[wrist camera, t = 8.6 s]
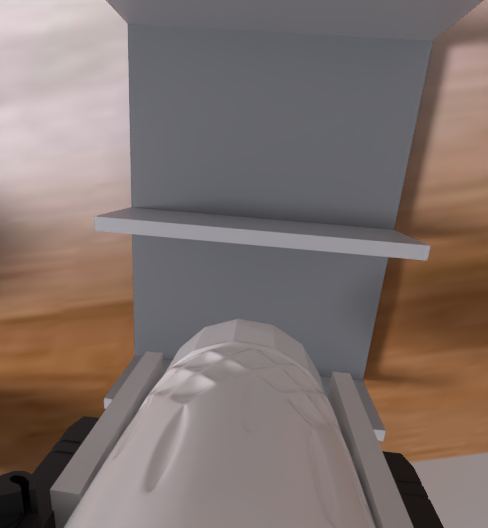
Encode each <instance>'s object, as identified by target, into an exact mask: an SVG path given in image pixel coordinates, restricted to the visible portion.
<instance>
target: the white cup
mask: <svg viewBox="0 0 488 528" xmlns="http://www.w3.org/2000/svg"><path fill="white" fill-rule="evenodd" d="M63 528H376V526H375V523H374V520H373V517H372V515H371V512H370V509H369V506H368V503H367V500H366V497H365V494H364V491H363V489H362V486H361V483H360V480H359V477H358V474H357V471H356V469H355V466H354V463H353V460H352V458H351V455H350V452H349V450H348V448H347V445H346V443H345V440H344V438H343V436H342V432H341V429H340V426H339V424H338V421H337V418H336V416H335V413H334V411H333V408H332V406H331V404H330V402H329V400H328V398H327V396H326V394H325V391H324V387H323V384H322V381H321V378H320V375H319V372H318V371H317V369H316V367H315V365H314V364H313V362H312V360H311V358H310V357H309V355H308V353H307V351H306V350H305V348H304V346H303V345H302V344H301V343H300V342H298V341H297V340H295V339H294V338H292V337H291V336H289V335H288V334H286V333H285V332H283V331H282V330H280V329H279V328H277V327H276V326H274V325H272V324H266V323H260V322H255V321H249V320H243V319H235V320H231V321H227V322H223V323H219V324H215V325H211V326H207V327H204V328H203V329H202V330H201V331H199V332H198V333H197V334H196V335H195V336H193V337H192V338H191V339H190V340H189V341H187V342H186V343H185V344H184V345H183V346H182V347H180V349H179V350H178V352H177V354H176V355H175V357H174V359H173V360H172V362H171V364H170V365H169V367H168V369H167V371H166V372H165V374H164V375H163V377H162V378H161V379H160V380H159V381H158V383H157V384H156V385H155V386H154V388H153V389H152V390H151V392H150V393H149V394H148V396H147V397H146V399H145V401H144V402H143V404H142V405H141V407H140V409H139V410H138V412H137V414H136V415H135V417H134V418H133V419H132V421H131V422H130V424H129V425H128V426H127V428H126V429H125V431H124V432H123V434H122V435H121V437H120V438H119V440H118V441H117V443H116V444H115V446H114V447H113V449H112V451H111V452H110V454H109V455H108V457H107V458H106V460H105V462H104V463H103V465H102V466H101V468H100V470H99V471H98V473H97V475H96V476H95V478H94V479H93V481H92V482H91V484H90V486H89V487H88V489H87V490H86V492H85V494H84V495H83V497H82V498H81V500H80V502H79V503H78V505H77V506H76V508H75V510H74V511H73V513H72V514H71V516H70V518H69V519H68V521H67V522H66V524H65V526H64V527H63Z"/></svg>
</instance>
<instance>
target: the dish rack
mask: <svg viewBox="0 0 488 528" xmlns="http://www.w3.org/2000/svg"><path fill="white" fill-rule="evenodd" d="M106 1H107V2H108V3H109V4H110V5H111V6H112V7H113V8H114V9H115V10H116V12H117V13H118V14H119V15H120V16H121V17H122V18H123V19H124V20H125V21H126V22H127V23H128V59H129V107H130V155H131V203H132V207H131V208H127V209H123V210H119V211H114V212H110V213H106V214H102V215H98V216H94V223H95V231H103V232H114V233H125V234H132V250H133V298H134V346H135V356H134V358H133V359H132V361H131V362H130V363H129V365H128V366H127V367H126V369H125V370H124V371H123V373H122V374H121V376H120V377H119V378H118V380H117V381H116V382H115V384H114V385H113V386H112V388H111V389H110V391H109V392H108V393H107V395H106V396H105V397H104V409H106V408H107V407H108V406H109V404H110V403H111V401H112V400H113V398H114V397H115V395H116V394H117V393H118V391H119V390H120V388H121V387H122V385H123V384H124V383H125V381H126V380H127V378H128V377H129V375H130V374H131V372H132V371H133V370H134V368H135V367H136V365H137V364H138V362H139V361H140V360H141V358H142V357H143V355H144V354H145V352H146V351H149V352H158V353H163V375H164V374H165V372H166V371H167V369H168V367H169V365H170V364H171V362H172V360H173V359H174V357H175V355H176V354H177V352H178V350H179V349H180V347H182V346H183V345H184V344H185V343H186V342H187V341H189V340H190V339H191V338H192V337H193V336H195V335H196V334H197V333H198V332H199V331H201V330H202V329H203V328H204V327H207V326H211V325H215V324H219V323H223V322H227V321H231V320H235V319H243V320H249V321H255V322H260V323H266V324H272V325H274V326H276V327H277V328H279V329H280V330H282V331H283V332H285V333H286V334H288V335H289V336H291V337H292V338H294V339H295V340H297V341H298V342H300V343H301V344H302V345H303V346H304V348H305V350H306V351H307V353H308V355H309V357H310V358H311V360H312V362H313V364H314V365H315V367H316V369H317V371H318V372H319V375H320V378H321V381H322V384H323V387H324V391H325V394H326V396H327V398H328V394H329V389H330V383H331V377H332V372H342V373H350V374H351V377H352V379H353V382H354V384H355V387H356V389H357V391H358V394H359V396H360V399H361V401H362V404H363V406H364V408H365V411H366V413H367V416H368V418H369V421H370V423H371V425H372V428H373V430H374V433H375V435H376V438H377V440H378V441H383V440H384V436H385V432H386V430H385V428H384V426H383V424H382V421H381V419H380V417H379V415H378V413H377V411H376V408H375V406H374V404H373V402H372V400H371V398H370V395H369V393H368V391H367V389H366V387H365V385H364V382H363V377H364V373H365V368H366V363H367V358H368V353H369V348H370V344H371V339H372V334H373V329H374V324H375V319H376V315H377V310H378V305H379V300H380V295H381V290H382V286H383V281H384V276H385V271H386V266H387V261H388V257H393V258H404V259H416V260H427V259H428V254H429V250H430V245H428V244H425V243H423V242H421V241H419V240H416V239H414V238H412V237H409V236H407V235H405V234H403V233H400V232H398V231H396V230H394V227H395V223H396V218H397V213H398V208H399V203H400V198H401V194H402V189H403V184H404V179H405V174H406V169H407V165H408V160H409V155H410V150H411V145H412V140H413V136H414V131H415V126H416V121H417V116H418V111H419V107H420V102H421V97H422V92H423V87H424V82H425V78H426V73H427V68H428V63H429V58H430V53H431V49H432V44H433V41H434V40H435V39H436V38H438V37H439V36H440V35H441V34H442V33H444V32H445V31H446V30H447V29H449V28H450V27H451V26H452V25H454V24H455V23H456V22H457V21H459V20H460V19H461V18H462V17H464V16H465V15H466V14H467V13H468V12H470V11H471V10H472V9H473V8H475V7H476V6H477V5H478V4H480V3H481V2H482V1H483V0H106Z"/></svg>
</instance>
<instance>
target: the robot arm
mask: <svg viewBox="0 0 488 528" xmlns="http://www.w3.org/2000/svg"><path fill="white" fill-rule="evenodd" d="M162 377H163V353H158V352H149V351H146V352H145V354H144V355H143V357H142V358H141V360H140V361H139V362H138V364H137V365H136V367H135V368H134V370H133V371H132V372H131V374H130V375H129V377H128V378H127V380H126V381H125V383H124V384H123V385H122V387H121V388H120V390H119V391H118V393H117V394H116V395H115V397H114V398H113V400H112V401H111V403H110V404H109V406H108V407H107V408H106V410H105V411H104V413H103V414H102V416H101V417H100V418H93V417H85V416H84V417H83V418H81V419H80V420H78V421H77V422H76V423H74V424H73V425H71V426H70V427H69V428H68V430H67V431H66V432H65V433H64V435H63V436H62V437H61V438H60V441H59V442H57V444H56V445H55V446H54V447H53V449H52V451H51V453H50V452H49V454H48V455H47V456H46V457H45V459H44V460H43V461H42V463H41V464H40V465H39V466H38V468H37V469H36V470H35V471H34V473H33V474H30V473H28V472H25V471H13V472H10V473H6V474H3V475H0V528H63V527H64V526H65V524H66V522H67V521H68V519H69V518H70V516H71V514H72V513H73V511H74V510H75V508H76V506H77V505H78V503H79V502H80V500H81V498H82V497H83V495H84V494H85V492H86V490H87V489H88V487H89V486H90V484H91V482H92V481H93V479H94V478H95V476H96V475H97V473H98V471H99V470H100V468H101V466H102V465H103V463H104V462H105V460H106V458H107V457H108V455H109V454H110V452H111V451H112V449H113V447H114V446H115V444H116V443H117V441H118V440H119V438H120V437H121V435H122V434H123V432H124V431H125V429H126V428H127V426H128V425H129V424H130V422H131V421H132V419H133V418H134V417H135V415H136V414H137V412H138V410H139V409H140V407H141V405H142V404H143V402H144V401H145V399H146V397H147V396H148V394H149V393H150V392H151V390H152V389H153V388H154V386H155V385H156V384H157V383H158V381H159V380H160V379H161V378H162ZM328 400H329V402H330V404H331V406H332V408H333V411H334V413H335V416H336V418H337V421H338V424H339V426H340V429H341V432H342V436H343V438H344V440H345V443H346V445H347V448H348V450H349V452H350V455H351V458H352V460H353V463H354V466H355V469H356V471H357V474H358V477H359V480H360V483H361V486H362V489H363V491H364V494H365V497H366V500H367V503H368V506H369V509H370V512H371V515H372V517H373V520H374V523H375V526H376V528H444V527H443V525H442V523H441V521H440V519H439V517H438V515H437V513H436V511H435V509H434V507H433V505H432V503H431V501H430V500H429V499H428V495H427V493H426V491H425V489H424V487H423V486H422V484H421V481H420V479H419V477H418V475H417V473H416V471H415V469H414V467H413V466H412V465H411V464H410V463H409V462H408V461H407V460H406V458H405V457H404V456H403V455H402V454H400V453H392V452H383V451H382V450H381V447H380V445H379V442H378V440H377V438H376V435H375V433H374V430H373V428H372V425H371V423H370V421H369V418H368V416H367V413H366V411H365V408H364V406H363V404H362V401H361V399H360V396H359V394H358V391H357V389H356V387H355V384H354V382H353V379H352V377H351V374H350V373H342V372H332V377H331V383H330V389H329V394H328Z"/></svg>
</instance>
